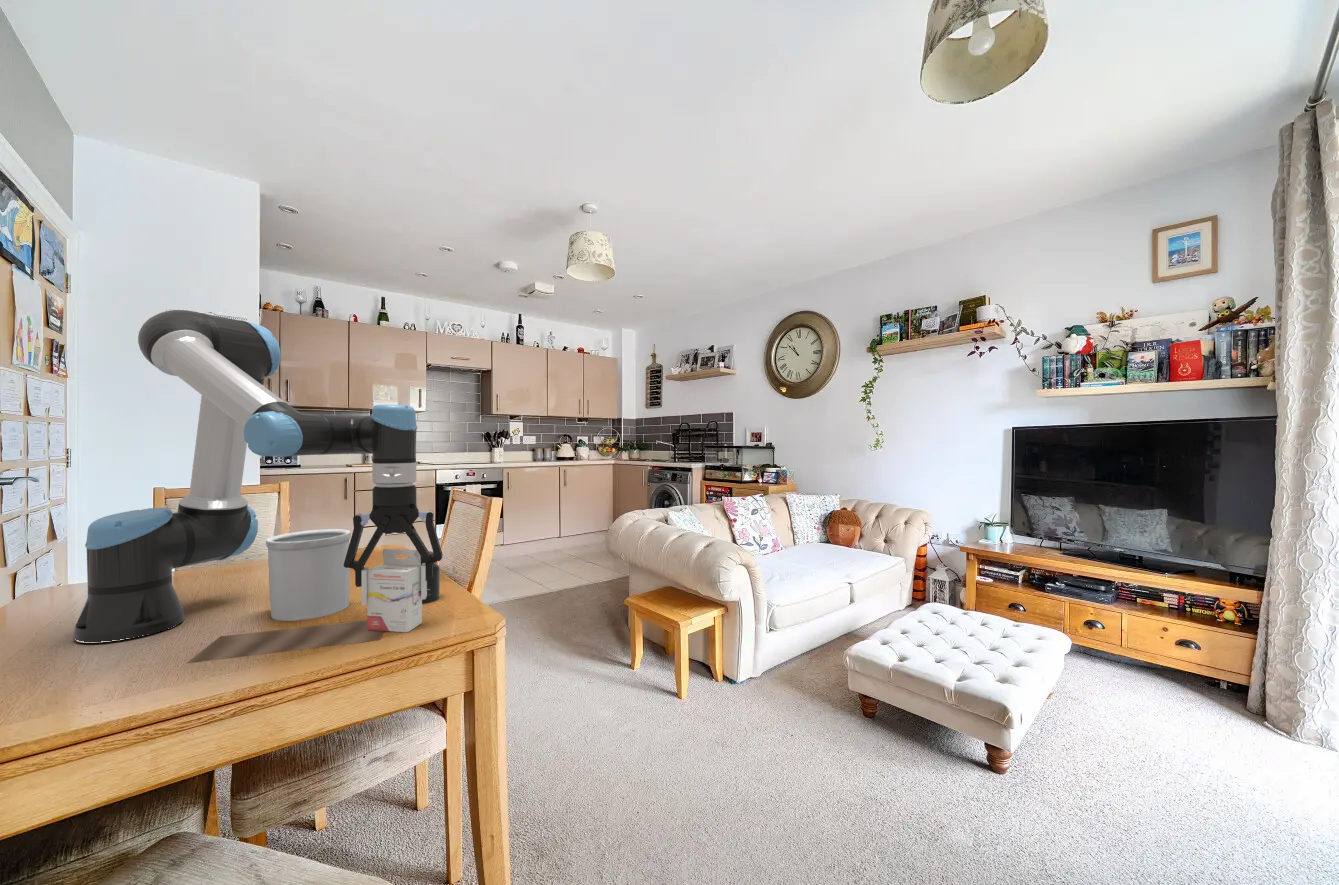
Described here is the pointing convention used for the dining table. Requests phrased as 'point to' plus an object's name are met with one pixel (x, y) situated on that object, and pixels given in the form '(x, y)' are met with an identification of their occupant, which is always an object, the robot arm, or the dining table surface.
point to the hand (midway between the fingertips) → (395, 600)
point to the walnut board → (287, 640)
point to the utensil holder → (308, 574)
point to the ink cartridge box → (395, 592)
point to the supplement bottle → (433, 584)
